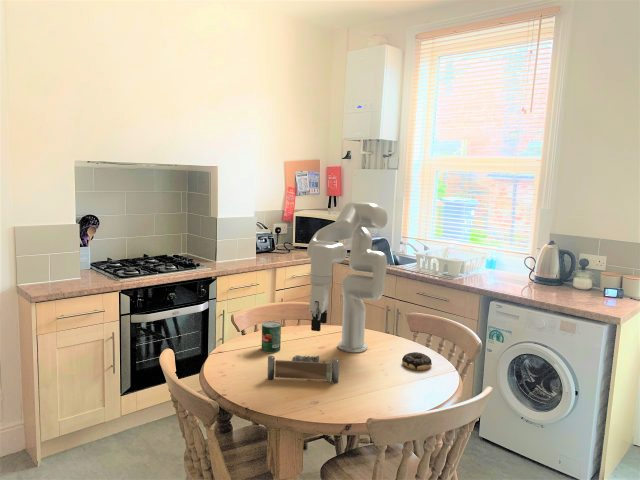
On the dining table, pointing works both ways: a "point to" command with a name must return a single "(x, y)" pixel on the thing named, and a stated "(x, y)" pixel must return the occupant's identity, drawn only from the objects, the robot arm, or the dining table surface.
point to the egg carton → (306, 358)
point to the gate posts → (334, 369)
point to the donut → (416, 361)
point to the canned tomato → (271, 336)
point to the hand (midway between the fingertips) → (319, 326)
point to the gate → (303, 370)
